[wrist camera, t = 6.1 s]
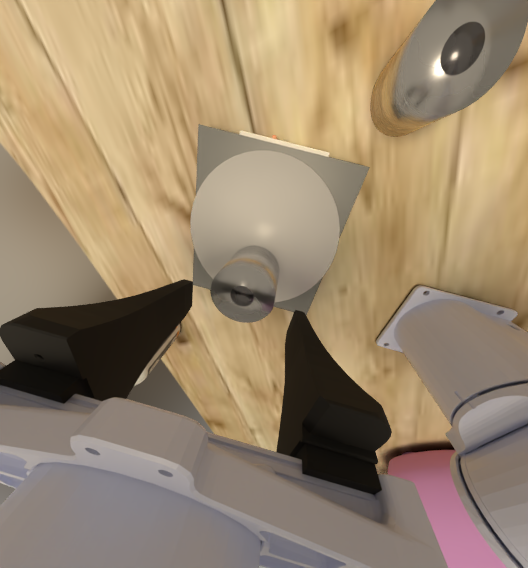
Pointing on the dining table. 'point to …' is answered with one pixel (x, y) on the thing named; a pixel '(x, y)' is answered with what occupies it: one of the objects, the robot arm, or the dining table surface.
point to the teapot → (445, 508)
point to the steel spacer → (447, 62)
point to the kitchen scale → (270, 208)
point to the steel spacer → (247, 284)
